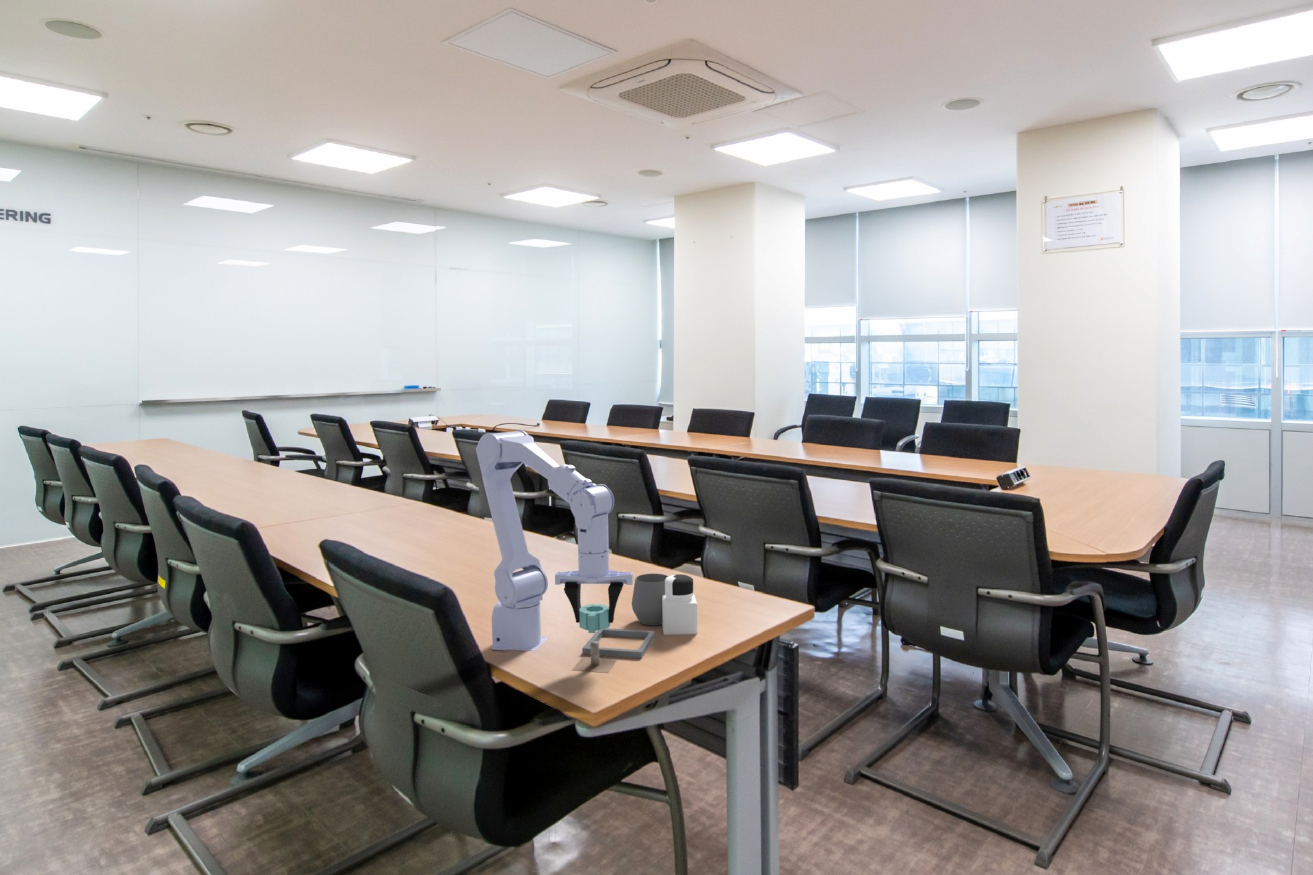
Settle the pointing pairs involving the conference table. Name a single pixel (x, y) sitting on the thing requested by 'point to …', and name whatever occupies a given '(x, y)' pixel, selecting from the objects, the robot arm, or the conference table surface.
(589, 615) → the ring
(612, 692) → the conference table surface
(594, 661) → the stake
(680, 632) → the medicine bottle
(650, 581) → the cup
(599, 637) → the tray
